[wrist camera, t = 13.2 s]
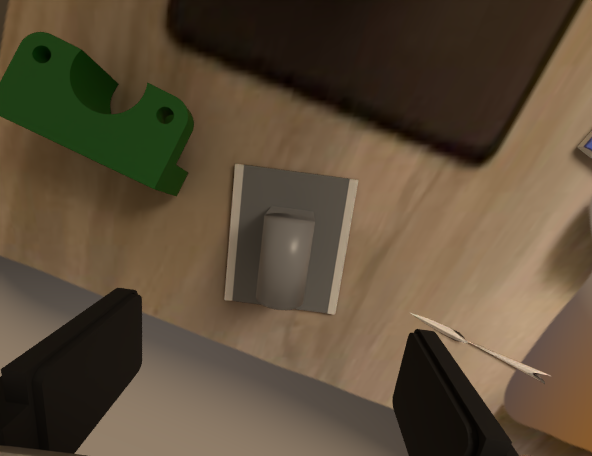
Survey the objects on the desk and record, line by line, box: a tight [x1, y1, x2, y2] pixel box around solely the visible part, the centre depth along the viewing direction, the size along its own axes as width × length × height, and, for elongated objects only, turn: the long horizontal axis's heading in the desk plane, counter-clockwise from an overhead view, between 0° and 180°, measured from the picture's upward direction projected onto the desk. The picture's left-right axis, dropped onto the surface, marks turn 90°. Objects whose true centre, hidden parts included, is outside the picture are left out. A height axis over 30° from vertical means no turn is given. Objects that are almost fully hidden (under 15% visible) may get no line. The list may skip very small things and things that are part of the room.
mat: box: [224, 164, 358, 315], centre depth 25 cm, size 12×10×1 cm
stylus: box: [411, 313, 548, 383], centre depth 27 cm, size 4×1×19 cm
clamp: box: [0, 32, 194, 196], centre depth 21 cm, size 12×6×9 cm, turn 58°
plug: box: [256, 206, 315, 310], centre depth 22 cm, size 8×4×6 cm, turn 173°
